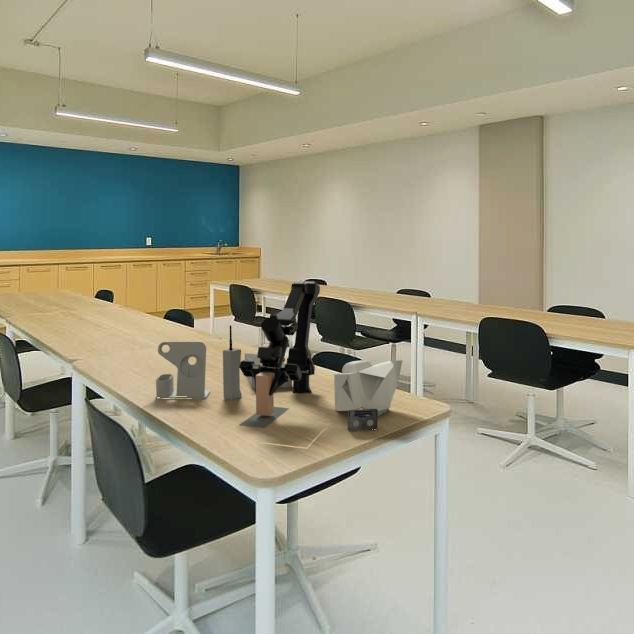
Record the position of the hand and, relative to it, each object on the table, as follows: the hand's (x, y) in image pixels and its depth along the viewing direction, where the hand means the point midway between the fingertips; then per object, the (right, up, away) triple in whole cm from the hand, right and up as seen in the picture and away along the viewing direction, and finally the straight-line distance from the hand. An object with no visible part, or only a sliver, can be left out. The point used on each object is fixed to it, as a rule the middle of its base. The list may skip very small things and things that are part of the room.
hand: (262, 394), depth 169 cm
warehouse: (-3, -1, +51) cm, 51 cm away
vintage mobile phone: (-12, -5, +23) cm, 26 cm away
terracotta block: (0, -6, +2) cm, 6 cm away
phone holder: (-30, -4, +26) cm, 40 cm away
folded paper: (+34, -7, +9) cm, 36 cm away
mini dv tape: (+29, -9, -8) cm, 31 cm away
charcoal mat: (0, -7, +2) cm, 8 cm away
